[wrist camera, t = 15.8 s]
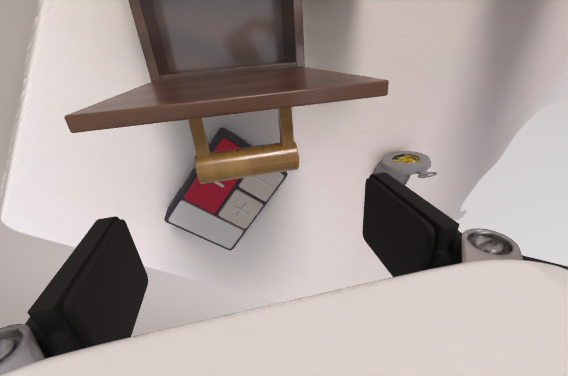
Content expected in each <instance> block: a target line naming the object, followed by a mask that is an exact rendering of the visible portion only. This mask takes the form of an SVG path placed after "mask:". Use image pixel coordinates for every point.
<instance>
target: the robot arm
mask: <svg viewBox="0 0 568 376" xmlns="http://www.w3.org/2000/svg"><path fill="white" fill-rule="evenodd" d="M458 227H459V224H458V223H457V222H456V221H454V220H453V219H451V218H450V217H448V216H447V215H446V214H444V213H443V212H441V211H440V210H439V209H437V208H436V207H434V206H433V205H432V204H430V203H429V202H427V201H426V200H424V199H423V198H422V197H420V196H419V195H417V194H416V193H415V192H413V191H412V190H410V189H409V188H408V187H406V186H405V185H403V184H402V183H400V182H399V181H398V180H396V179H395V178H393V177H392V176H391V175H389V174H388V173H386V172H382V173H376V174H371V175H370V177H369V178H367V179H366V185H365V202H364V218H363V237H364V240H365V241H366V243H367V244H368V245H369V246H370V248H371V249H372V250H373V252H374V253H375V254H376V255H377V257H378V258H379V259H380V261H381V262H382V263H383V264H384V266H385V267H386V268H387V270H388V271H389V272H390V273H391V275H392V276H393V277H392V278H388V279H383V280H379V281H374V282H370V283H365V284H361V285H356V286H352V287H348V288H343V289H339V290H334V291H330V292H326V293H321V294H317V295H312V296H308V297H304V298H299V299H295V300H290V301H286V302H282V303H277V304H273V305H268V306H264V307H260V308H255V309H251V310H246V311H242V312H238V313H233V314H229V315H224V316H220V317H216V318H211V319H207V320H203V321H198V322H194V323H190V324H185V325H181V326H177V327H172V328H168V329H164V330H159V331H155V332H151V333H146V334H142V335H138V336H134V337H131V335H132V331H133V329H134V325H135V322H136V319H137V316H138V313H139V310H140V307H141V304H142V301H143V297H144V294H145V291H146V288H147V285H148V277H147V273H146V271H145V269H144V266H143V264H142V261H141V259H140V256H139V254H138V251H137V249H136V246H135V244H134V242H133V239H132V237H131V234H130V232H129V229H128V227H127V224H126V222H125V221H124V220H123V219H122V220H120V219H119V218H118V217H110V218H104V219H98V220H97V221H96V222H95V223H94V225H93V226H92V227H91V229H90V230H89V231H88V233H87V234H86V235H85V237H84V238H83V239H82V241H81V242H80V243H79V245H78V246H77V247H76V249H75V250H74V251H73V253H72V254H71V255H70V256H69V258H68V259H67V261H66V262H65V263H64V264H63V266H62V267H61V268H60V270H59V271H58V272H57V274H56V275H55V276H54V278H53V279H52V280H51V282H50V283H49V284H48V286H47V287H46V288H45V290H44V291H43V292H42V294H41V295H40V296H39V298H38V299H37V300H36V302H35V303H34V304H33V306H32V307H31V308H30V309H29V311H28V314H29V315H30V318H29V319H28V321H27V322H26V323H25V325H24V324H15V325H9V326H6V327H3V328H0V376H568V267H567V266H563V265H559V264H555V263H550V262H546V261H543V260H538V259H534V258H530V257H526V256H522V255H521V251H520V249H519V247H518V245H517V244H516V243H515V242H514V241H513V240H512V239H510V238H509V237H507V236H505V235H503V234H500V233H498V232H495V231H491V230H487V229H470V230H466V231H465V232H463V233H461V232H459V231H458Z"/></svg>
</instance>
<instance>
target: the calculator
mask: <svg viewBox="0 0 568 376" xmlns="http://www.w3.org/2000/svg"><path fill="white" fill-rule="evenodd" d="M245 147H252V146H251V145H249V144H248V143H246V142H245V141H243V140H241V139H240V138H238V137H237V136H235V135H234V134H232V133H231V132H229V131H228V130H226V129H225V128H220V130H219V131H218V133H217V134H216V136H215V137H214V139H213V140H212V142H211V143H210V145H209V150H210V152H216V151H223V150H231V149H238V148H245ZM286 176H287V172H286V171H284V172H278V173H271V174H264V175H258V176H251V177H245V178H238V179H232V180H225V181H219V182H212V183H205V184H201V183H200V182H199V180H198V176H197V172H196V166H195V168H194V169H193V171H192V172H191V174H190V176H189V177H188V179H187V180H186V182H185V183H184V185H183V186H182V188H181V189H180V190H179V192H178V193H177V195H176V196H175V198H174V199H173V201H172V202H171V204H170V205H169V207H168V209H167V212H166V216H165V219H164V220H165V222H167V223H169V224H172V225H174V226H176V227H178V228H181V229H183V230H185V231H187V232H189V233H192V234H194V235H196V236H198V237H201V238H203V239H205V240H207V241H210V242H212V243H214V244H216V245H219V246H221V247H223V248H225V249H228V250H232V249H233V248H234V247H235V246H236V244H237V243H238V241H239V240H240V239H241V237H242V236H243V235H244V233H245V232H246V231H247V229H248V228H249V227H250V225H251V224H252V223H253V221H254V220H255V218H256V217H257V216H258V214H259V213H260V212H261V210H262V209H263V208H264V206H265V205H266V204H267V202H268V201H269V199H270V198H271V197H272V195H273V194H274V193H275V191H276V190H277V189H278V187H279V186H280V185H281V183H282V182H283V181H284V179H285V178H286Z"/></svg>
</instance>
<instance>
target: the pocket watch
mask: <svg viewBox="0 0 568 376" xmlns="http://www.w3.org/2000/svg"><path fill="white" fill-rule="evenodd" d="M410 161H412V162H413V161H416V162H415V163H412V162H410ZM430 167H431V161H430V158H429V157H428V156H427V155H424V154H422V153H418V152H410V151H404V152H395V153H391V154H389V155H386V156H385V157H384V158H383V160H382V161H381V162H380V163H379V164H378V166H377V167H376V169H375V171H374V174H376V173H382V172H386V173H388V174H389V175H391V176H392V177H393V178H395V179H396V180H398V181H399V182H400V183H402V184H403V185H405V184H406V183H407V181H408V180H409V178H410V175H412V174H418V173H419V175H418V177H419V178H426V177H431V176H434V175H436V174H437V172H429V173H428V172H427V171H426V170H428V169H429V168H430ZM428 174H433V175H428Z"/></svg>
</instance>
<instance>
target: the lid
mask: <svg viewBox="0 0 568 376" xmlns="http://www.w3.org/2000/svg"><path fill="white" fill-rule="evenodd" d="M387 94H388V80H383V79H377V78H371V77H365V76H358V75H352V74H346V73H340V72H333V71H327V70H321V69H315V68H308V67H300V68H290V69H280V70H270V71H259V72H249V73H239V74H229V75H219V76H209V77H199V78H189V79H179V80H168V81H158V82H150V83H148V84H145V85H143V86H140V87H138V88H135V89H133V90H130V91H127V92H125V93H122V94H120V95H117V96H115V97H112V98H110V99H107V100H104V101H102V102H99V103H97V104H94V105H92V106H89V107H87V108H84V109H81V110H79V111H76V112H74V113H71V114H69V115H66V116H65V120H66V122H67V125H68V127H69V129H70V131H71V132H72V133H77V132H85V131H94V130H102V129H110V128H119V127H127V126H136V125H144V124H152V123H161V122H169V121H178V120H186V119H188V120H189V124H190V129H191V133H192V137H193V141H194V145H195V150H196V155H195V166H196V172H197V176H198V180H199V182H200V183H201V184H205V183H212V182H219V181H225V180H232V179H238V178H245V177H251V176H258V175H264V174H271V173H278V172H284V171H291V170H297V169H298V168H299V155H298V149H297V146H296V143H295V142H294V141H293V125H292V110H291V107H295V106H304V105H312V104H320V103H329V102H337V101H346V100H354V99H362V98H371V97H379V96H386V95H387ZM270 109H278V119H279V130H280V142H281V143H274V144H267V145H260V146H253V147H245V148H238V149H231V150H223V151H216V152H210V150H209V145H208V140H207V136H206V131H205V126H204V122H203V117H211V116H220V115H228V114H236V113H245V112H253V111H262V110H270Z"/></svg>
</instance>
